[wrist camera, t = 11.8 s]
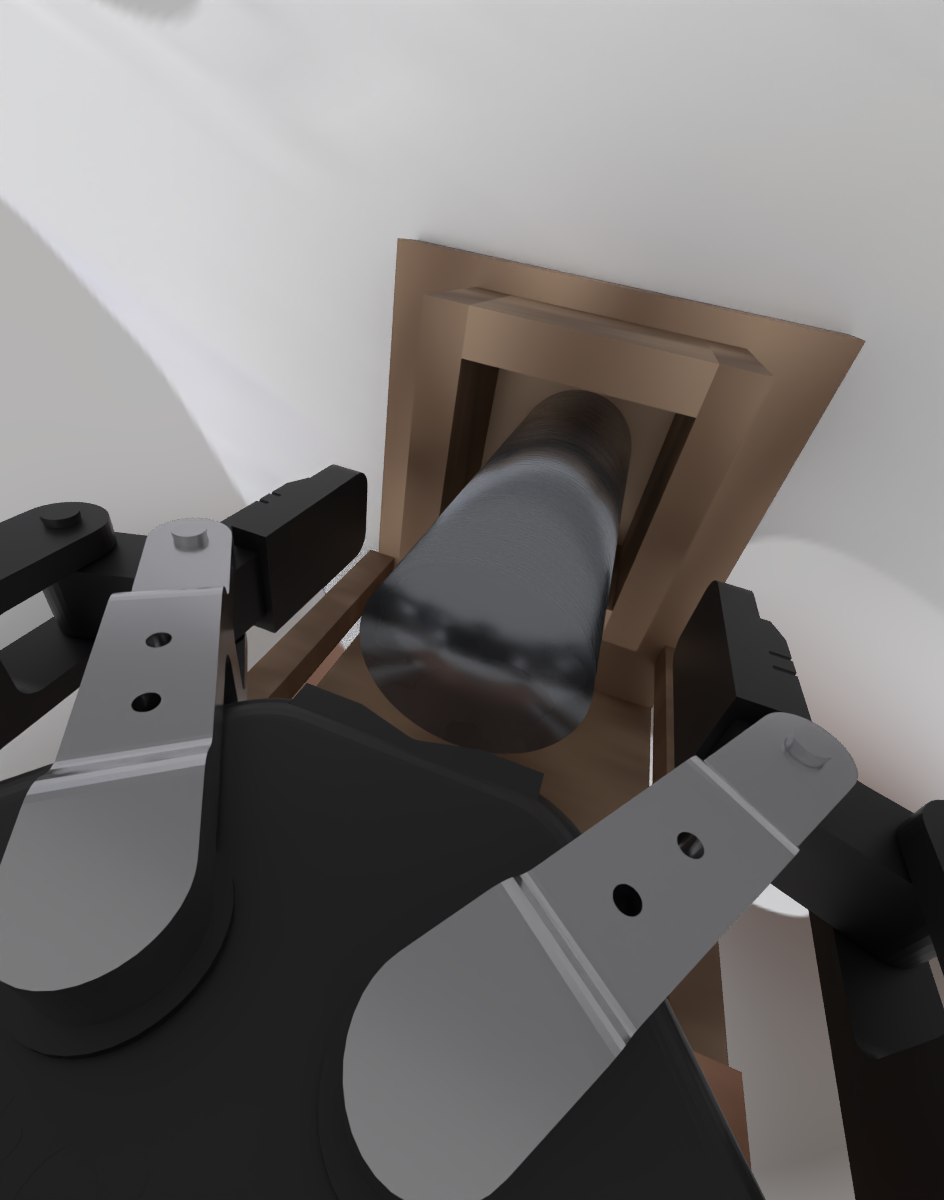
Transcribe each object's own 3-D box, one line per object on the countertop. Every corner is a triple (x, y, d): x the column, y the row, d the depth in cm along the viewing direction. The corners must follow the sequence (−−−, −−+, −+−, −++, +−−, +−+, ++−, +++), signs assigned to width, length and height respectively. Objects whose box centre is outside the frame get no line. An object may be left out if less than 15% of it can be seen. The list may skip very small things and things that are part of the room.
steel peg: (649, 406, 16) (633, 614, 7) (609, 515, 18) (554, 782, 9) (532, 376, 17) (363, 528, 7) (507, 486, 19) (356, 707, 10)
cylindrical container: (255, 644, 32) (-407, 1268, 12) (199, 544, 28) (-857, 1191, 9) (347, 643, 29) (-311, 1446, 9) (298, 533, 26) (-914, 1441, 6)
